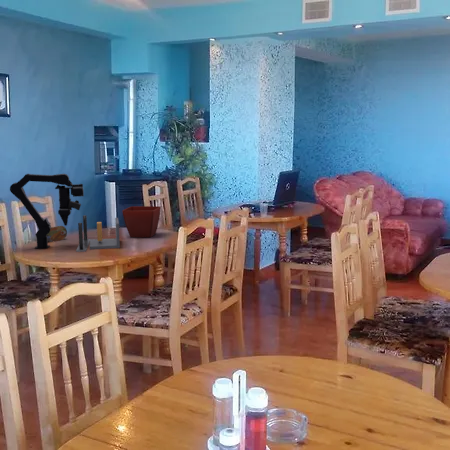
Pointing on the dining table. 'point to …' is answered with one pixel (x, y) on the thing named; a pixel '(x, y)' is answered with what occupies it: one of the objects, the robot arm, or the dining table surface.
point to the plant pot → (142, 220)
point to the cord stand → (82, 242)
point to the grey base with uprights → (107, 240)
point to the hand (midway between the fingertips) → (65, 225)
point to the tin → (57, 233)
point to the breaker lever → (99, 231)
